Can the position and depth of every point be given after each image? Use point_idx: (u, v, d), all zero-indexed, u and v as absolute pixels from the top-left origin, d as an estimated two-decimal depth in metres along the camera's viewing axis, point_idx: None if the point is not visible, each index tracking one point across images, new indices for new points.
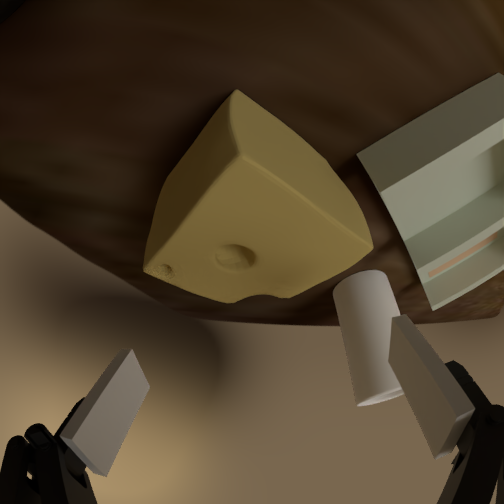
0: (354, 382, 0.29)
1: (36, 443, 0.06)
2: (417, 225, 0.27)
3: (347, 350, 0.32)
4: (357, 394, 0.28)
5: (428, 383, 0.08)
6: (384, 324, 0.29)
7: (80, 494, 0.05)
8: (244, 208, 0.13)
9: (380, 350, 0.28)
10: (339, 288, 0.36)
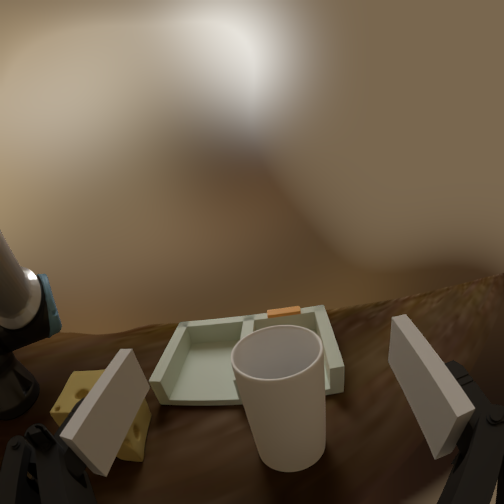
0: (249, 398, 0.22)
1: (36, 443, 0.06)
2: (231, 389, 0.39)
3: (259, 427, 0.23)
4: (244, 384, 0.21)
5: (428, 383, 0.08)
6: None
7: (80, 494, 0.05)
8: (77, 379, 0.31)
9: None
10: (260, 457, 0.26)
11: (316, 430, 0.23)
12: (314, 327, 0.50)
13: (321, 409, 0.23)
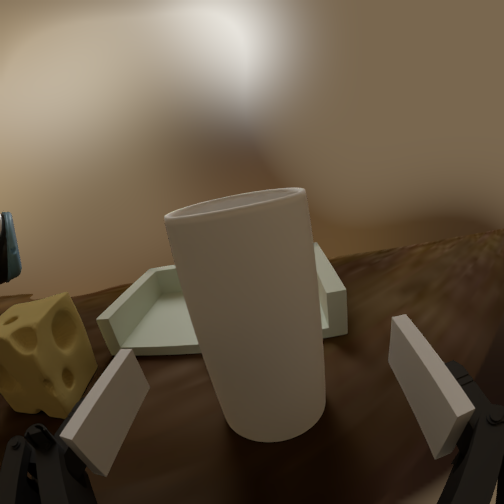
0: (186, 271, 0.14)
1: (36, 443, 0.06)
2: None
3: (208, 342, 0.15)
4: (177, 240, 0.14)
5: (428, 383, 0.08)
6: None
7: (80, 494, 0.05)
8: (14, 309, 0.23)
9: None
10: (225, 417, 0.19)
11: (308, 356, 0.15)
12: None
13: (313, 312, 0.15)
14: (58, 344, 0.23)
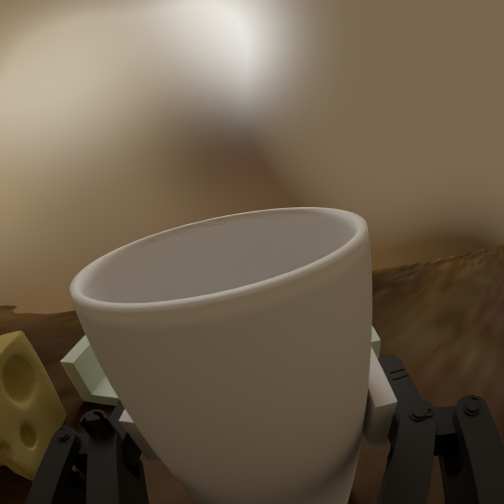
0: (116, 393, 0.06)
1: (92, 429, 0.08)
2: None
3: (178, 479, 0.07)
4: (89, 339, 0.06)
5: None
6: None
7: (132, 487, 0.06)
8: None
9: None
10: None
11: (339, 487, 0.07)
12: None
13: (358, 437, 0.07)
14: (16, 394, 0.15)
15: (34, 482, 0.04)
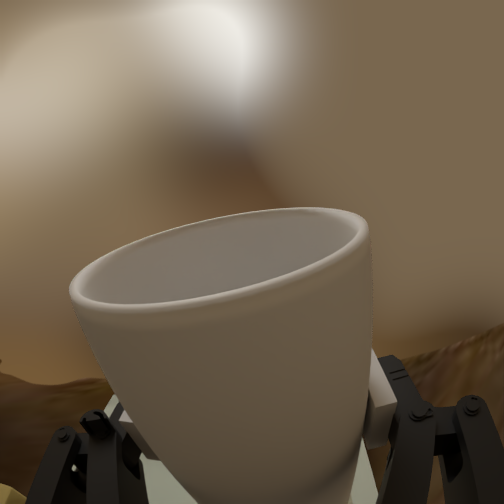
0: (116, 394, 0.06)
1: (92, 429, 0.08)
2: None
3: (178, 480, 0.07)
4: None
5: None
6: None
7: (132, 487, 0.06)
8: None
9: None
10: None
11: (339, 488, 0.07)
12: None
13: (358, 438, 0.07)
14: None
15: (34, 482, 0.04)
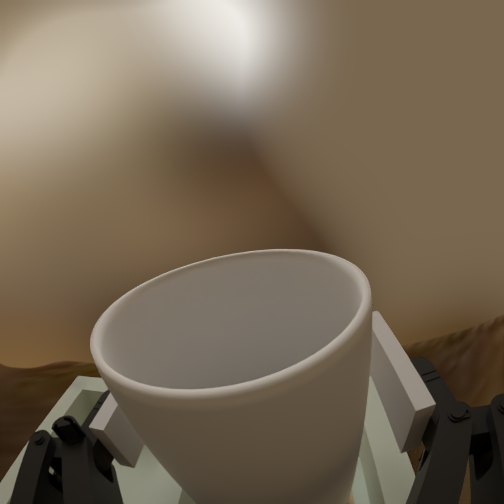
0: (140, 436, 0.06)
1: (64, 435, 0.07)
2: None
3: (193, 498, 0.07)
4: (113, 395, 0.06)
5: (392, 377, 0.09)
6: None
7: (106, 490, 0.06)
8: None
9: None
10: None
11: (337, 502, 0.08)
12: None
13: (354, 462, 0.07)
14: None
15: (16, 485, 0.04)
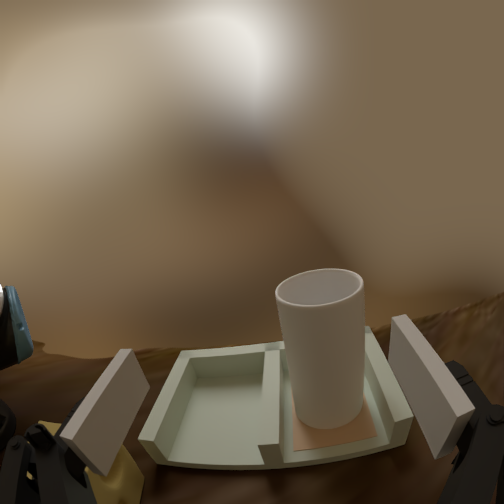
0: (296, 333, 0.23)
1: (36, 443, 0.06)
2: (252, 449, 0.25)
3: (303, 370, 0.24)
4: (292, 316, 0.23)
5: (428, 383, 0.08)
6: None
7: (80, 494, 0.05)
8: None
9: None
10: (299, 415, 0.28)
11: (358, 374, 0.24)
12: None
13: (363, 349, 0.25)
14: None
15: None
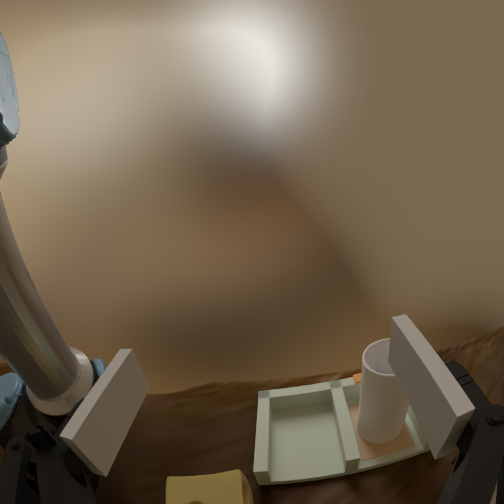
0: (378, 389, 0.31)
1: (36, 443, 0.06)
2: (333, 463, 0.32)
3: (376, 409, 0.32)
4: (378, 380, 0.30)
5: (428, 383, 0.08)
6: None
7: (80, 494, 0.05)
8: (179, 488, 0.25)
9: None
10: (362, 435, 0.35)
11: (407, 407, 0.32)
12: None
13: None
14: None
15: None
